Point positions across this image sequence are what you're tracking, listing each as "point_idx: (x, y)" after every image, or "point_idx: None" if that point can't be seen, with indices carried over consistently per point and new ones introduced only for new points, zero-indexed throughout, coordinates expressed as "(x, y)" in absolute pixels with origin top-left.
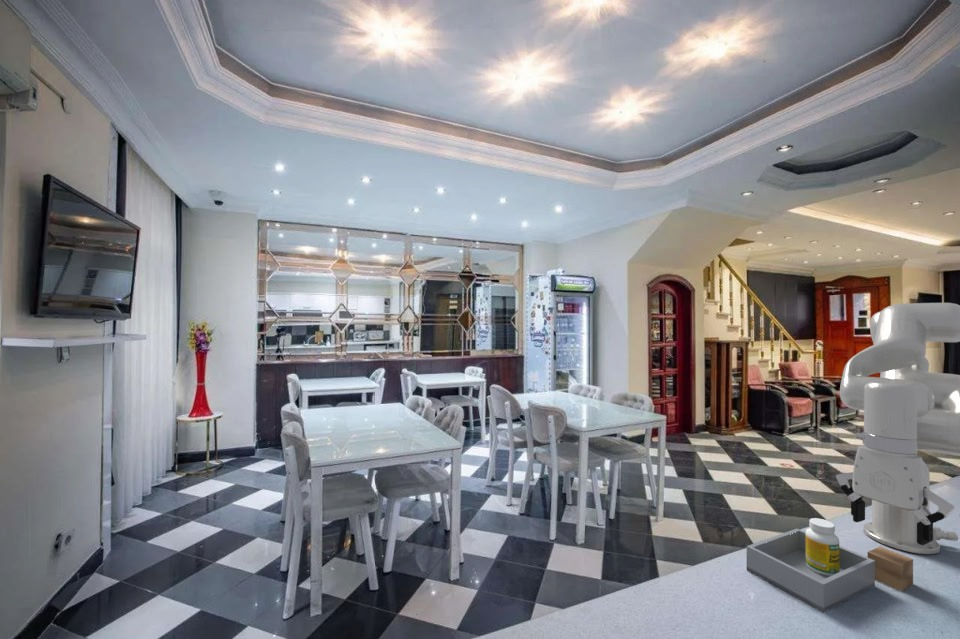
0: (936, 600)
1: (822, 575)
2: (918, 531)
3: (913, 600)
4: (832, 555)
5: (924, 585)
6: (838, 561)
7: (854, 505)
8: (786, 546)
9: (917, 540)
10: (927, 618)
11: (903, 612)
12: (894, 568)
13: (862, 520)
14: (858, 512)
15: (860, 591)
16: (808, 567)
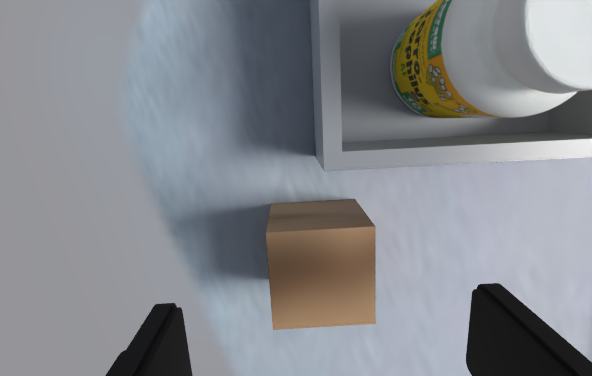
0: (208, 247)
1: None
2: (138, 355)
3: (231, 184)
4: (426, 19)
5: (261, 303)
6: (406, 63)
7: (578, 360)
8: None
9: (172, 314)
10: (167, 115)
11: (207, 79)
12: (285, 223)
13: (469, 341)
14: (513, 340)
15: (312, 58)
16: None
